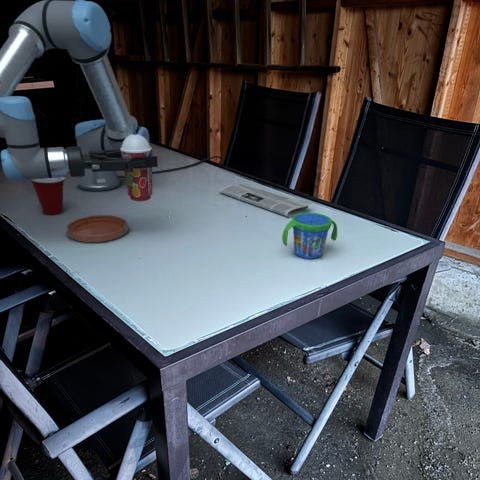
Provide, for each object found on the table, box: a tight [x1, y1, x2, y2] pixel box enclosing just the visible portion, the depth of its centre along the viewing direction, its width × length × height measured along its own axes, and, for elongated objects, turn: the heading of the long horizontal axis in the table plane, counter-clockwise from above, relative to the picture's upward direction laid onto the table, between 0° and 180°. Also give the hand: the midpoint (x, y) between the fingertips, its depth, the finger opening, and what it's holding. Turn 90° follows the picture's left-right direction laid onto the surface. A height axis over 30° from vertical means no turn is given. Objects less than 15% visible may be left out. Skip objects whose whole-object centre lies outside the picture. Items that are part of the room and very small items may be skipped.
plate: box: [66, 214, 129, 243], centre depth 141 cm, size 17×17×2 cm
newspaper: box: [219, 183, 313, 218], centre depth 168 cm, size 35×12×4 cm, turn 43°
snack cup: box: [281, 212, 338, 260], centre depth 128 cm, size 16×10×10 cm
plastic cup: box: [30, 177, 66, 216], centre depth 152 cm, size 11×11×12 cm
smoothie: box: [120, 123, 153, 202], centre depth 129 cm, size 8×8×20 cm
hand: (154, 157), depth 130 cm, fingers closed on smoothie, 8 cm apart
